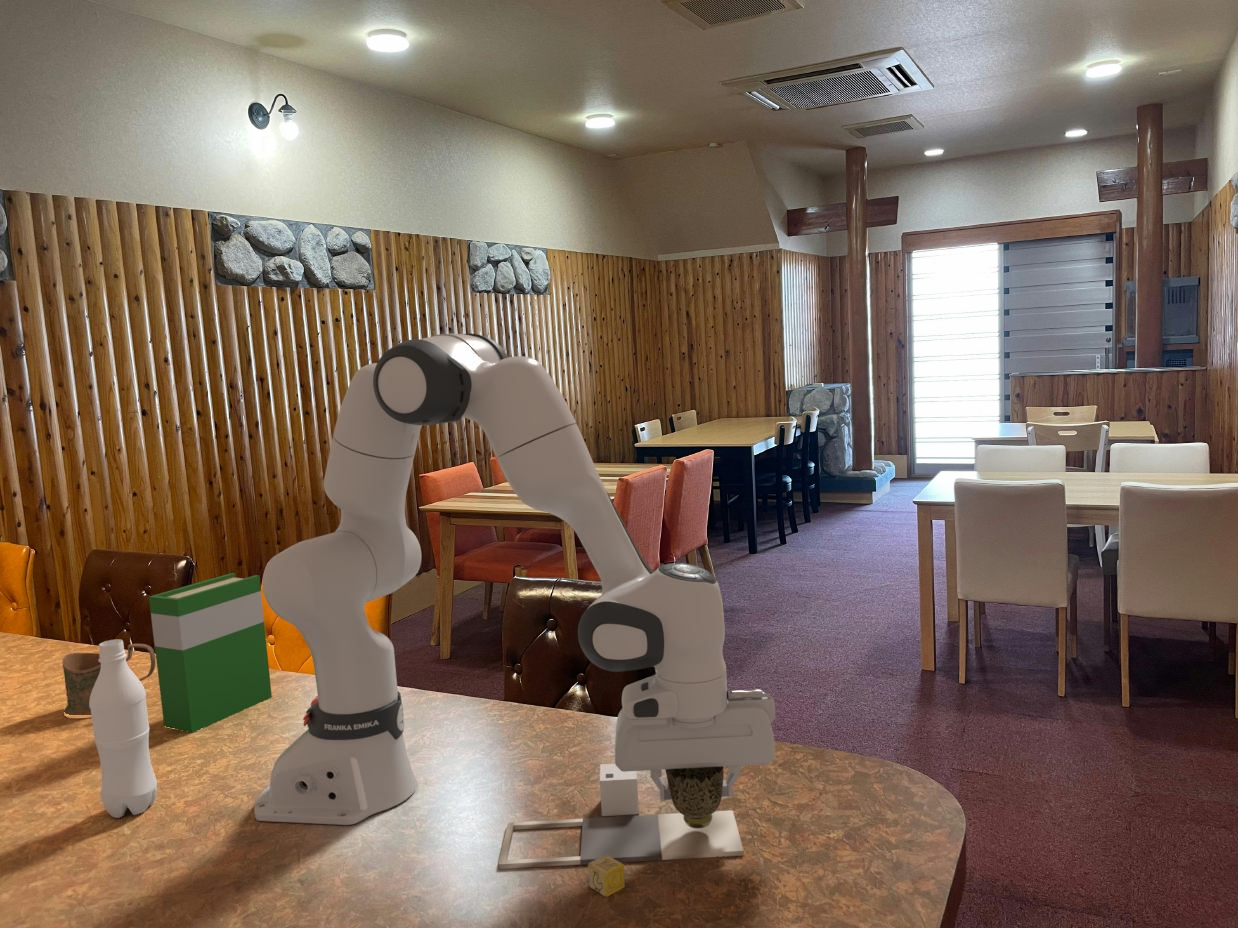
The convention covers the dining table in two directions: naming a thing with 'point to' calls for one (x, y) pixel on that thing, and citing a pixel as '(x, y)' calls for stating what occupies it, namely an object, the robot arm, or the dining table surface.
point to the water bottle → (121, 734)
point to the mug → (88, 677)
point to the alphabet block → (606, 875)
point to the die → (618, 791)
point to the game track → (637, 839)
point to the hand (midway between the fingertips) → (696, 797)
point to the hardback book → (210, 650)
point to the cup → (696, 793)
